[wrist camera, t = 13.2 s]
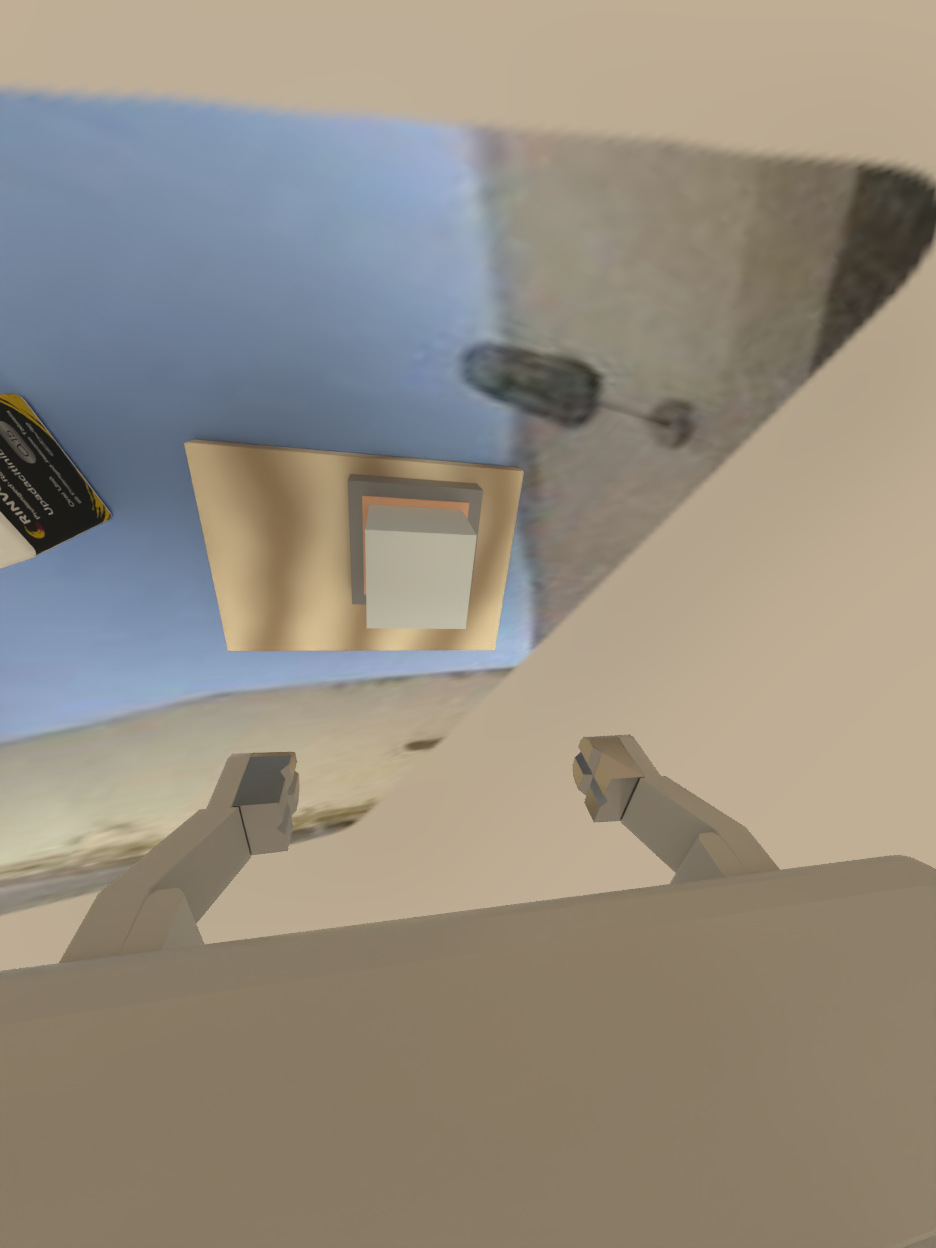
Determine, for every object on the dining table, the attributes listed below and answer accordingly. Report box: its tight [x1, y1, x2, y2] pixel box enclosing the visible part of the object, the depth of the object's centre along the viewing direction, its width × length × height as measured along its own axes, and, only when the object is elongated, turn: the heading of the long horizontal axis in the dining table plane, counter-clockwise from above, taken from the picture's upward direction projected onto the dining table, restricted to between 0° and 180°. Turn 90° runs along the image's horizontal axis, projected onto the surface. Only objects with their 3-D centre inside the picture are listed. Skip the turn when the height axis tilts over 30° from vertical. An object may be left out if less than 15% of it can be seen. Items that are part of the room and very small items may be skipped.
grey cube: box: [365, 504, 477, 629], centre depth 24 cm, size 6×6×5 cm
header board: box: [184, 439, 524, 651], centre depth 27 cm, size 20×14×7 cm
